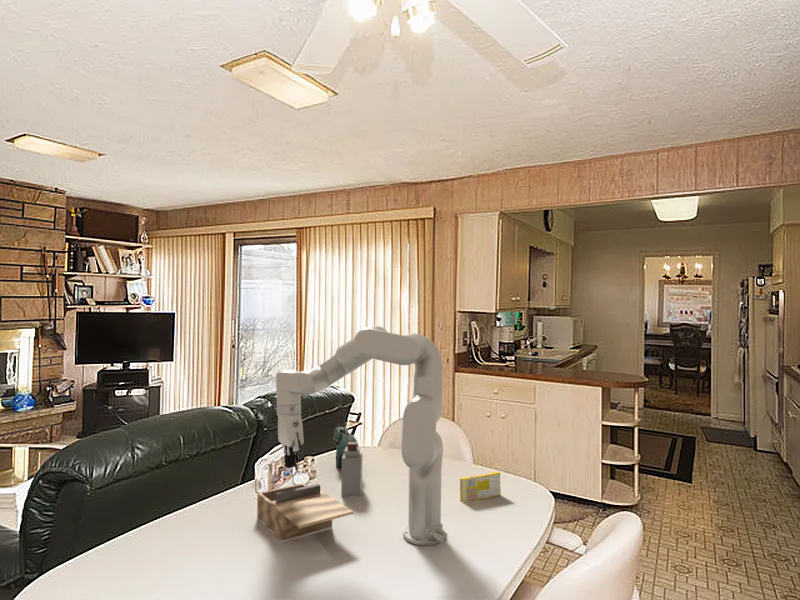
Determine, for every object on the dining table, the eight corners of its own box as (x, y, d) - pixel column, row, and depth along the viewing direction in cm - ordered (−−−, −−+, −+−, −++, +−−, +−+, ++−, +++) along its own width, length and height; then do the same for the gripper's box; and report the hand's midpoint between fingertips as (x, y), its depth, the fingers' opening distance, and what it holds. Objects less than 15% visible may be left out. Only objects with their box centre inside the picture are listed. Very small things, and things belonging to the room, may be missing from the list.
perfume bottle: (360, 496, 184) (360, 445, 184) (341, 496, 184) (341, 445, 184) (362, 489, 191) (362, 440, 191) (343, 489, 191) (344, 440, 191)
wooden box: (332, 528, 158) (332, 502, 158) (282, 542, 149) (282, 514, 149) (303, 506, 174) (303, 483, 174) (257, 518, 165) (257, 493, 165)
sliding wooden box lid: (352, 514, 149) (352, 502, 149) (299, 528, 139) (299, 516, 139) (320, 492, 165) (320, 482, 165) (270, 504, 155) (270, 493, 155)
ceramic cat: (331, 466, 217) (332, 418, 217) (346, 464, 220) (346, 417, 220) (349, 481, 199) (350, 429, 200) (365, 479, 202) (365, 427, 202)
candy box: (497, 493, 188) (497, 471, 188) (500, 496, 187) (501, 472, 187) (459, 501, 181) (459, 477, 181) (462, 503, 179) (463, 479, 179)
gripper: (310, 410, 162) (311, 469, 162) (290, 404, 174) (291, 459, 174) (287, 414, 157) (289, 475, 157) (268, 407, 169) (270, 463, 169)
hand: (290, 466), depth 165 cm, fingers closed
